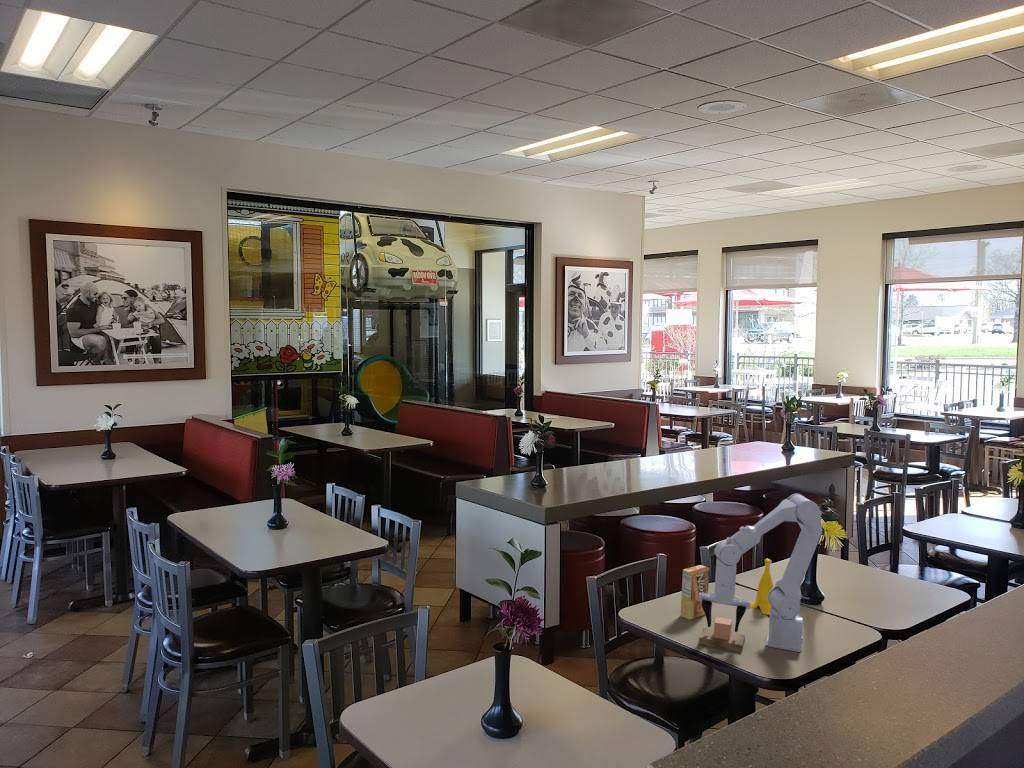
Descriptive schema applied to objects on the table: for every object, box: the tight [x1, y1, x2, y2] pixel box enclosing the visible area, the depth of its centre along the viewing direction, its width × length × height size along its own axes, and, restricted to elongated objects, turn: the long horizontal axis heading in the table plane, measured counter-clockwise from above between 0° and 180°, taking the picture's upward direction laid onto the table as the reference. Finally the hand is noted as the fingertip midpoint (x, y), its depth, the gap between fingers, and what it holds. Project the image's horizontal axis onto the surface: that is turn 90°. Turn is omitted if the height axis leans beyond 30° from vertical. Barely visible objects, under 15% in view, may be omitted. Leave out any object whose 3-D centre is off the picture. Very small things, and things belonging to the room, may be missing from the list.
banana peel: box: [735, 558, 774, 616], centre depth 254 cm, size 16×19×17 cm
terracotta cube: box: [713, 616, 733, 640], centre depth 225 cm, size 4×4×4 cm
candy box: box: [679, 564, 711, 620], centre depth 245 cm, size 9×4×15 cm, turn 129°
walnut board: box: [698, 627, 746, 653], centre depth 225 cm, size 12×8×2 cm, turn 68°
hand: (722, 628), depth 225 cm, fingers open, 7 cm apart
